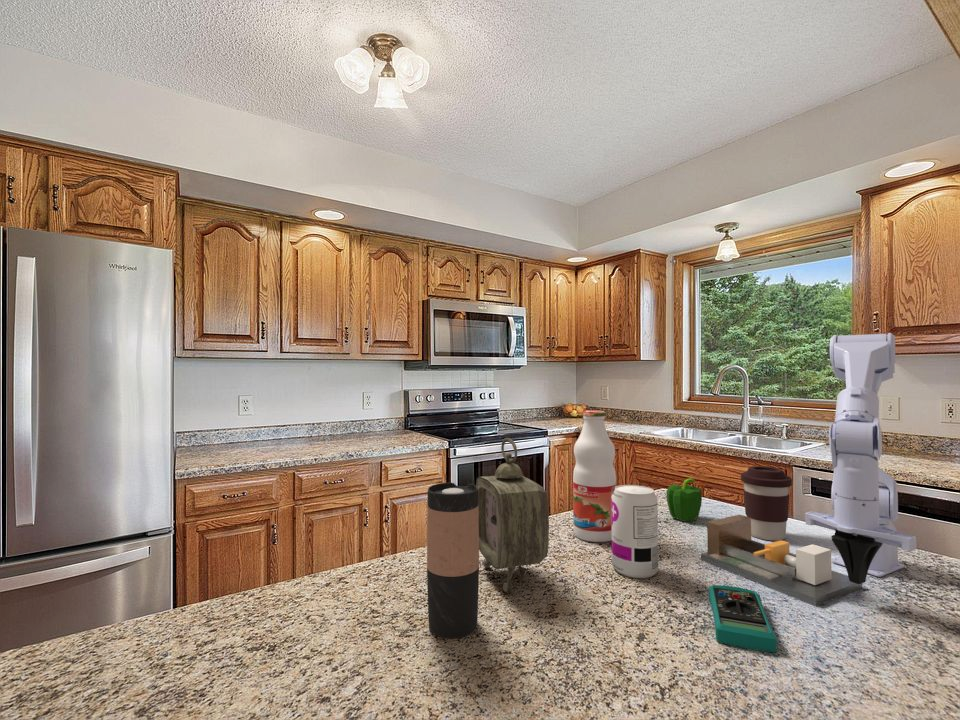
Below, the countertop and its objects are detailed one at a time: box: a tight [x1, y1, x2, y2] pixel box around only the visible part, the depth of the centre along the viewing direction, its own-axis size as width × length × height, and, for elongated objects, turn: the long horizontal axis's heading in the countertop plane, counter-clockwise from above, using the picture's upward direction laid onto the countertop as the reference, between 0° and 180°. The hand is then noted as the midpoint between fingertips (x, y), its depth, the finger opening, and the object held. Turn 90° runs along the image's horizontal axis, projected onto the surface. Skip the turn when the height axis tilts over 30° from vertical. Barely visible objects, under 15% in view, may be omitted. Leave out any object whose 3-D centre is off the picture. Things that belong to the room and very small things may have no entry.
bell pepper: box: [666, 477, 703, 522], centre depth 122 cm, size 8×8×10 cm
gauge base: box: [700, 514, 863, 607], centre depth 89 cm, size 21×14×7 cm, turn 28°
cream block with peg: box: [784, 543, 833, 585], centre depth 85 cm, size 6×5×5 cm
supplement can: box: [611, 484, 659, 579], centre depth 91 cm, size 8×8×15 cm
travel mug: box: [426, 482, 480, 639], centre depth 71 cm, size 8×8×20 cm
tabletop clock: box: [475, 437, 550, 593], centre depth 88 cm, size 14×9×25 cm, turn 18°
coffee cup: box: [740, 465, 793, 542], centre depth 109 cm, size 10×10×15 cm
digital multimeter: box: [708, 584, 778, 653], centre depth 72 cm, size 7×15×3 cm, turn 159°
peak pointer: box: [753, 540, 791, 564], centre depth 88 cm, size 2×9×4 cm, turn 118°
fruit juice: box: [572, 409, 617, 543], centre depth 110 cm, size 9×9×28 cm
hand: (857, 581), depth 78 cm, fingers closed
